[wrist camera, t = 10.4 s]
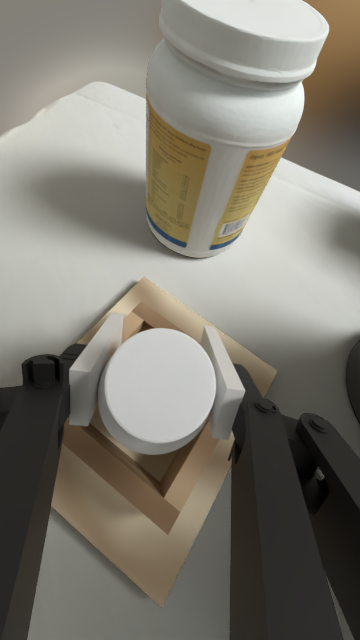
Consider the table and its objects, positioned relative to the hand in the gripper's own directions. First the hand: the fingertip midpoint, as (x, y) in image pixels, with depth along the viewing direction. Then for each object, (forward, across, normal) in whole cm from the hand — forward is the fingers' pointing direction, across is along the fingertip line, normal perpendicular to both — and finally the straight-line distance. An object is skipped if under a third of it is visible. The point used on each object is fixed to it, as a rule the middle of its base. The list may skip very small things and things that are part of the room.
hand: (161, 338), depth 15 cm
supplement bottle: (0, 0, -5) cm, 5 cm away
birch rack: (+2, 0, -7) cm, 7 cm away
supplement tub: (+18, +2, +8) cm, 19 cm away
